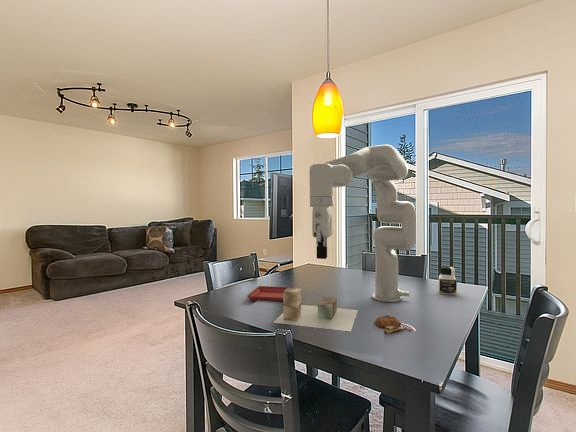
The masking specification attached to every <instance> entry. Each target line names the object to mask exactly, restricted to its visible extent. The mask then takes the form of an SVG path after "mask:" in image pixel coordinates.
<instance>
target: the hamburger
mask: <svg viewBox="0 0 576 432" xmlns="http://www.w3.org/2000/svg"><path fill="white" fill-rule="evenodd" d="M374 325H375V326H376V327H378V328H381V329H384V332H385V333H387V334H390V333H394V332H397V331H399V330H403V331H408V333H410V332H413V331H414V332H416V331H417V330H416V328H415V327H414V326H412V325H410V324H407V323H405V322H401V321H400V320H398V318H397V317H395V316H393V315H380V316H378V317H376V319H375V321H374ZM403 325H404V326H407V327H409V328H410V329H409V328H406V327H404V326H403Z"/></svg>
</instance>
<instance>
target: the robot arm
mask: <svg viewBox="0 0 576 432" xmlns="http://www.w3.org/2000/svg"><path fill="white" fill-rule="evenodd" d="M308 173H309V174H308V175H309V208H312V214H311V215H312V216H311V218H312V219H311V220H312V221H311V222H312V225H311V226H312V227H311V230H312V231H311V233H312V236H313V238H315V239H316V240H315V241H316V259H319V260H320V259H321V260H323V259H324V260H326V259H327V258H328V238H330V237H331V236H333V223H332V222H333V220H332V207H334V188H342V187H346V186H349V185H350V183H351V182H352V179H353V178H355V177H359V176H361V175H363V174H365V173H366V176H367V178H368V179H369V180H370V181H371V183H372V184H373V186H374V188H375V190H376V218H377V220H378V221H379V222H380V223H383V224H398V225H401V226H389V225H385V226H384V225H383V226H378V227H376V228H375V230H374V231H373V235H372V237H373V243H374V250H375V283H374V288H375V291H374V292H373V293H372V294H371V299H373V300H375V301H378V302H383V303H384V302H385V303H398V302H400V301H402V300H403V299H402V297H410V291H406V290H400V287H399V258H398V254H397V253H396V251H395V250H405V251H410V250H412V249H413V248H414V247H415V245H416V240H417V236H416V235H417V212H416V207H415V205H414V204H413V202H411V201H407V200H398V189H397V187H396V184H395V183H394V182H393V181H402V180H403V179H406V177H407V176H408V173H409V168H408V164H407V161H406V160H405V158H404V157H403V156H402V155H401V153H400V152H399V151H398V150H397V149H396V148H395V147H394V146H392V145H390V144H380V145H379V144H378V145H371V146H366V147H364V148H361V149H359V150H358V151H355V152H353V153H351V154H348V155H345V156H342V157H339V158H336V159H333V160H329V161H326V162H324V163H314V164H311V165H310V167H309V172H308Z"/></svg>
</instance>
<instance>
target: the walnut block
mask: <svg viewBox="0 0 576 432" xmlns="http://www.w3.org/2000/svg"><path fill="white" fill-rule="evenodd" d="M337 302H338V299H337V297H333V296H331V297H330V296H323V297H322V298H321V299H320V301H319V302H318V303H317V306H318V318H319V319H328V320H332V319H333V317H334V315H335V313H336V311H337V308H338V303H337Z"/></svg>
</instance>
